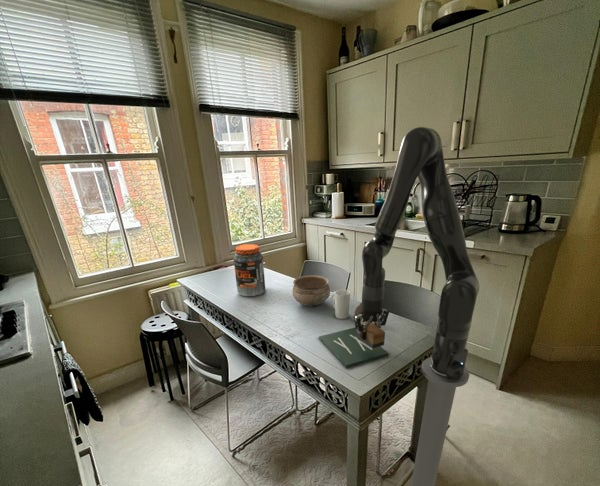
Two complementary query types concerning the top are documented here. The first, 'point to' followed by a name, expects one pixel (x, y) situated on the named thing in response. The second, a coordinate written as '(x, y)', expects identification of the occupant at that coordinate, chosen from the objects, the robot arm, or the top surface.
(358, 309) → the vase
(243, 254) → the supplement tub
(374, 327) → the eraser
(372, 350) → the slate board
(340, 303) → the mug
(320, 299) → the cooking pot
